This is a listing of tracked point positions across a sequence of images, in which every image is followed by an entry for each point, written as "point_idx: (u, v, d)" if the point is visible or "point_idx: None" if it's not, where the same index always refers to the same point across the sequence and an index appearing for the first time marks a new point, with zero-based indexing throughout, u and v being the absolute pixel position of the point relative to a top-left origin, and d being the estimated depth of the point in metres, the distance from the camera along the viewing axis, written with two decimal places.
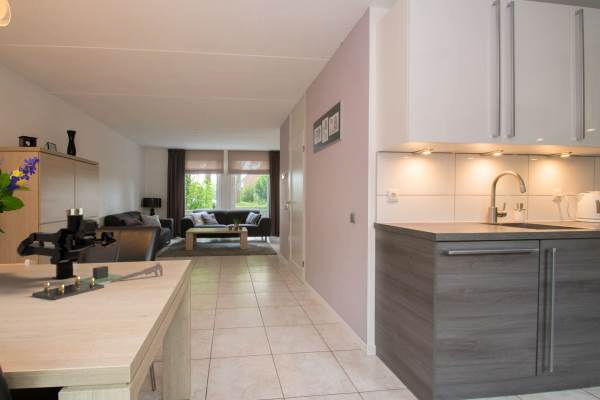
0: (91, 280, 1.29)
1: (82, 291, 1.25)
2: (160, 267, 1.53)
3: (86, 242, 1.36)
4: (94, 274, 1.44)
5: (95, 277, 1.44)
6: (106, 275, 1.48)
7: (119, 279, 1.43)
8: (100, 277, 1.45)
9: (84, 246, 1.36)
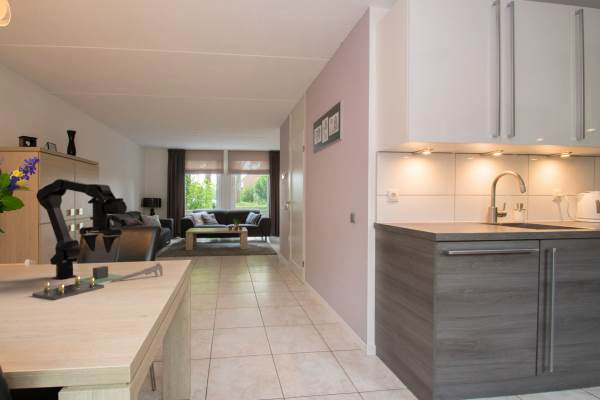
0: (91, 280, 1.29)
1: (82, 291, 1.25)
2: (160, 267, 1.53)
3: (110, 244, 1.44)
4: (94, 274, 1.44)
5: (95, 277, 1.44)
6: (106, 275, 1.47)
7: (119, 279, 1.43)
8: (100, 277, 1.45)
9: (107, 243, 1.43)
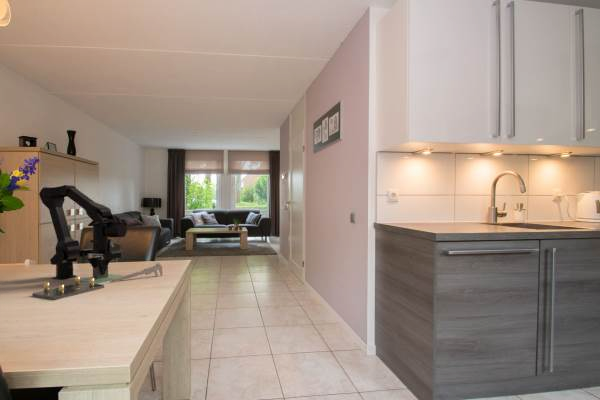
0: (91, 280, 1.29)
1: (82, 291, 1.25)
2: (160, 267, 1.53)
3: (105, 267, 1.46)
4: (94, 274, 1.44)
5: (95, 277, 1.44)
6: (106, 275, 1.48)
7: (119, 279, 1.43)
8: (100, 277, 1.45)
9: (102, 265, 1.44)
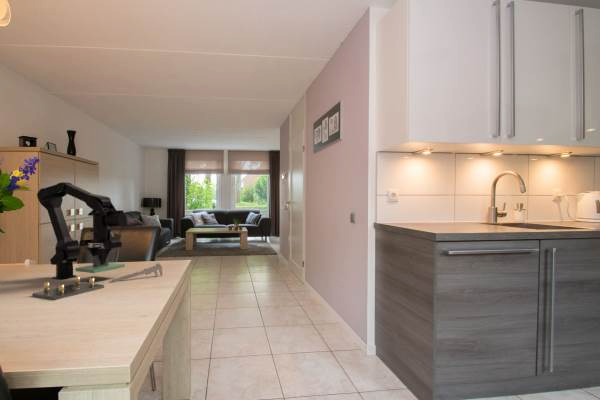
0: (91, 280, 1.29)
1: (82, 291, 1.25)
2: (160, 267, 1.53)
3: (105, 256, 1.46)
4: (94, 262, 1.44)
5: (95, 265, 1.44)
6: (106, 263, 1.47)
7: (119, 279, 1.43)
8: (100, 265, 1.45)
9: (102, 255, 1.44)
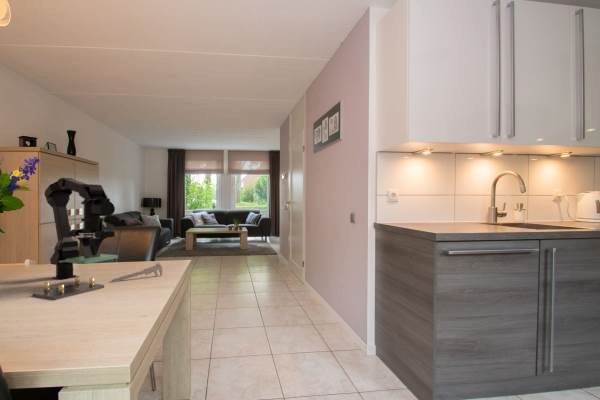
0: (91, 280, 1.29)
1: (82, 291, 1.25)
2: (160, 267, 1.53)
3: (97, 246, 1.39)
4: (85, 253, 1.38)
5: (87, 256, 1.38)
6: (98, 254, 1.41)
7: (119, 279, 1.43)
8: (92, 256, 1.39)
9: (93, 245, 1.38)
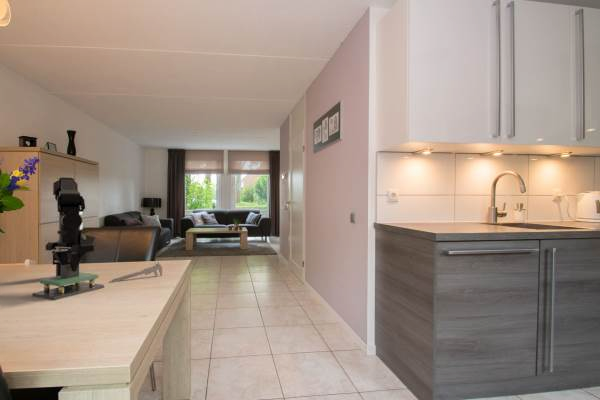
0: (91, 280, 1.29)
1: (82, 291, 1.25)
2: (160, 267, 1.53)
3: (77, 262, 1.26)
4: (62, 273, 1.25)
5: (63, 276, 1.24)
6: (77, 274, 1.28)
7: (119, 279, 1.43)
8: (69, 276, 1.25)
9: (72, 261, 1.24)
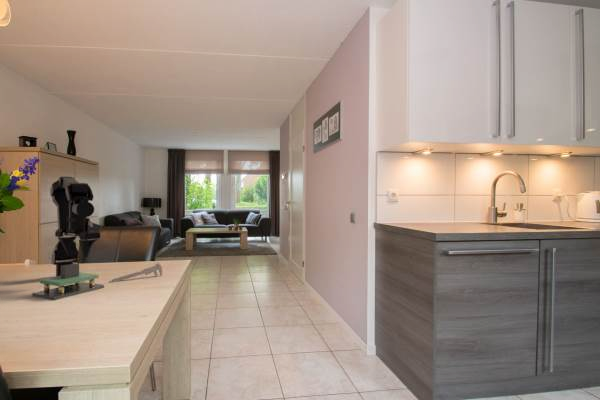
0: (91, 280, 1.29)
1: (82, 291, 1.25)
2: (159, 267, 1.53)
3: (87, 248, 1.33)
4: (62, 273, 1.25)
5: (63, 276, 1.24)
6: (77, 274, 1.28)
7: (118, 279, 1.43)
8: (69, 276, 1.25)
9: (84, 247, 1.31)
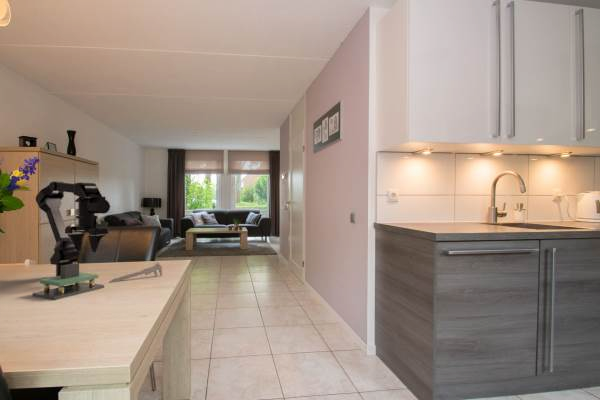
0: (91, 280, 1.29)
1: (82, 291, 1.25)
2: (159, 267, 1.53)
3: (96, 244, 1.42)
4: (62, 273, 1.25)
5: (63, 276, 1.24)
6: (77, 274, 1.28)
7: (118, 279, 1.43)
8: (69, 276, 1.25)
9: (93, 242, 1.40)
